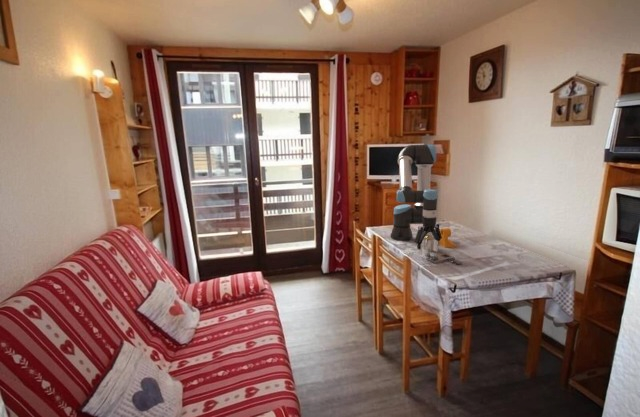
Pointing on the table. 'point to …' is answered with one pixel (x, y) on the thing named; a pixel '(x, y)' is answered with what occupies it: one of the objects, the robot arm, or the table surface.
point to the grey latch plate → (455, 262)
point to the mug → (431, 242)
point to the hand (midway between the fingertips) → (427, 252)
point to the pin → (428, 245)
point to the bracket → (446, 238)
